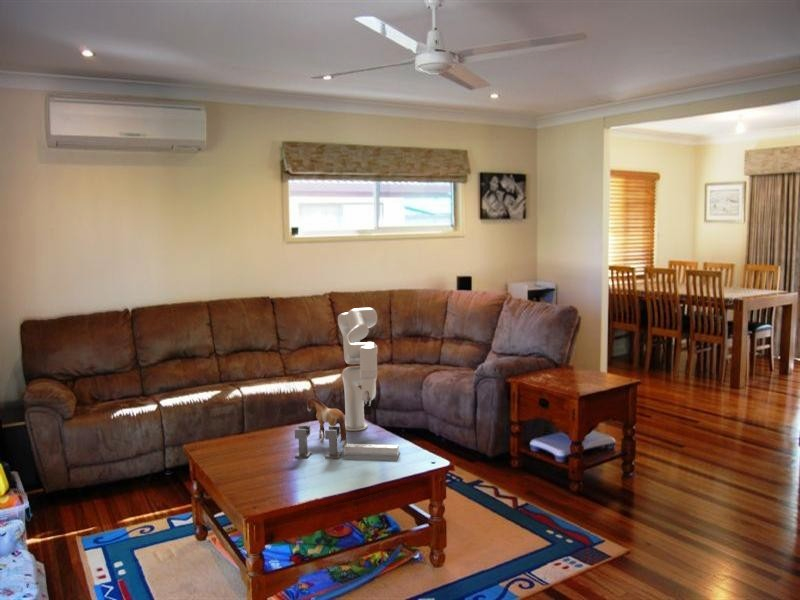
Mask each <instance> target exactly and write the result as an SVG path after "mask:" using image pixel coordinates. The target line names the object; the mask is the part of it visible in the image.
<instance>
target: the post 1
mask: <svg viewBox="0 0 800 600" xmlns="http://www.w3.org/2000/svg"><path fill="white" fill-rule="evenodd" d="M310 435H311V425H303V424H299V425H298V428H295V429H294V439H295V440H297V439H298V452H297V453H296V454H295V455H294V458H295V459H296V458H297V459H298V458H299V459H309V458H310V457H311V456H312V454H313V451H312V450H311V451H309V450H308V449H309V447H308V437H309V436H310Z"/></svg>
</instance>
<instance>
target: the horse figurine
mask: <svg viewBox="0 0 800 600" xmlns="http://www.w3.org/2000/svg"><path fill="white" fill-rule="evenodd" d="M305 399H306V405H307V407H306V408H307V411H308V412H311V411H312V409H313V408H314V407H315V410H316V415H315V417H316V420H317V421H318V423H319V430H318V432H319V433H318V434H319V435H318V438H320V442H324V441H325V426H324V425H325V423H328V425H329V426H337V425H339V426H340V441H339V443H342V442H343V441H344V442H343V445H342V446H343V447H344V446H345V445H346V444H348V440H347V435H348V434H347V432H348V431H347V430H346V426H345V424H346V416H345V414H344V413H343V411H342V410H340V409H338V408H330V407H327V406H326V405H325V404H324V403H323V402H322V401H320V400H319V399H318V398H316V397H311V396H310V397H309V396H307V397H305Z"/></svg>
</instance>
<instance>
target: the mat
mask: <svg viewBox="0 0 800 600" xmlns="http://www.w3.org/2000/svg"><path fill="white" fill-rule="evenodd" d="M400 454H401V451H399V454H398V457H385V456H349V455H343V456H342V460H361V461H362V460H365V461H366V460H367V461H392V460H393V461H397V460H398V458H399V456H400Z"/></svg>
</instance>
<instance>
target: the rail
mask: <svg viewBox="0 0 800 600" xmlns="http://www.w3.org/2000/svg"><path fill="white" fill-rule="evenodd" d="M343 450H344V451H343V452H344V455H343V456H345V455H349V456H385V457H398V458H399V456H398V454H399V452H400V447H399V444H372V443H371V444H369V443H368V444H367V443H365V444H363V443H347V444H346V445H345V446H343ZM399 455H400V454H399Z"/></svg>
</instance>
